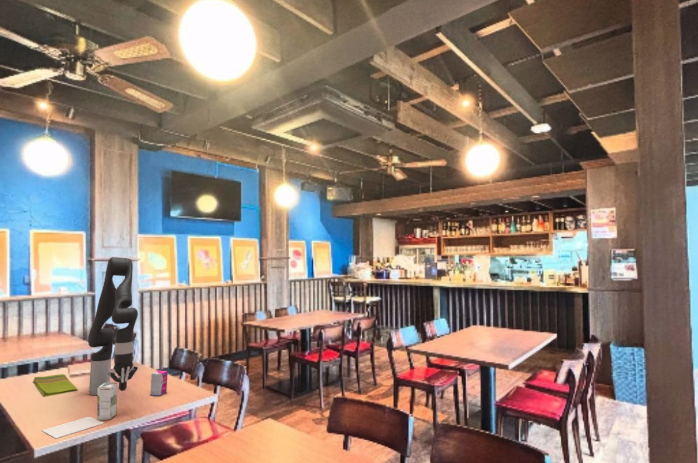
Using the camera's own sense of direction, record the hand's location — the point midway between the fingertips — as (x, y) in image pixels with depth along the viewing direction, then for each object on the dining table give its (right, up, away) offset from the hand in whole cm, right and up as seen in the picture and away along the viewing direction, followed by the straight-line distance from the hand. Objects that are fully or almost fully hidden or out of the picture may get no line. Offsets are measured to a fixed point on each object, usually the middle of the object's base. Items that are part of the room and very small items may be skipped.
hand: (122, 390), depth 186 cm
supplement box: (+4, -13, +26) cm, 30 cm away
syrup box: (-4, -10, -5) cm, 12 cm away
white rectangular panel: (-12, -9, -16) cm, 22 cm away
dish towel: (-59, -14, +39) cm, 72 cm away
